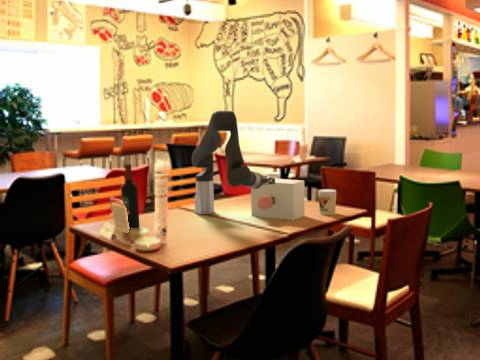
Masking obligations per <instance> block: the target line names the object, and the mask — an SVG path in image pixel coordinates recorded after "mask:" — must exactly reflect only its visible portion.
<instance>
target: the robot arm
mask: <svg viewBox="0 0 480 360" xmlns="http://www.w3.org/2000/svg"><path fill="white" fill-rule="evenodd" d="M220 132H229V134H230V136H229V139H228V140H227V143H226V145H225V147H224V155H225V160H226V164H227V167H226V168H227V169H226V181H227V183H228V185H229V186H231V187H232V188H237V187H239V186H242V187H246V188H249V189H251V188H253V189H257V188H260V187H261V186H262V185H268V184H270V185H273V184H275V179H274V178H271V177H269V179H268V178H267V177H264V176H263V175H262V174H261V173H260V172H257V171H254V170H253V171H252V170H250V168H249V166H247V165H243V164H244V157H243V153H242V150H241V147H240V137H239V130H238V120H237V116H236V114H235V112H234V111H232V110H216V111H213V112H212V114H211V116H210V119H209V122H208V125H207V128H206V130H205V132H204V134H203V136H202V138H201V140H200V142H199V143H198V145H197V147H195V149H194V150H193V152H192V154H191V164H192V166H193V167H194V168H198V169H203V168H205V169H204V170H203V171H201V172H200V173H198V174H196V175H195V194H194V212H195V213H194V214H198V215H210V214H213V213H215V198H214V196H215V195H214V191H215V189H214V153H215V152H216V151H218V148H219V147H220V145H221V144H222V140H223V139H222V134H221V133H220ZM268 182H269V183H268ZM264 183H265V184H264Z"/></svg>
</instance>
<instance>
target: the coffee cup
mask: <svg viewBox="0 0 480 360" xmlns="http://www.w3.org/2000/svg"><path fill="white" fill-rule="evenodd" d="M317 194H318V208H319V214H320V215H322V216H334V215H336V208H337V207H336V205H337V190H336V189H331V188H325V189H324V188H321V189H319V190H318V191H317Z"/></svg>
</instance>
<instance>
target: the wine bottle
mask: <svg viewBox="0 0 480 360" xmlns="http://www.w3.org/2000/svg"><path fill="white" fill-rule="evenodd" d="M124 169H125V182H124V183H123V184H122V185H121V187H120V190H121V191H120V192H121V202H122V201H123V203H124V204H125V206H126V208H127V213H128V222H129V227H130V229H129V230H132V229H131V228H137V229H139V228H140V212H139V193H138V190H139V189H138V186H137V184H136V183H135V182H134V181H133V178H132V174H133V173H132V164H127V163H126V164H125V165H124ZM138 227H139V228H138Z"/></svg>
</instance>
